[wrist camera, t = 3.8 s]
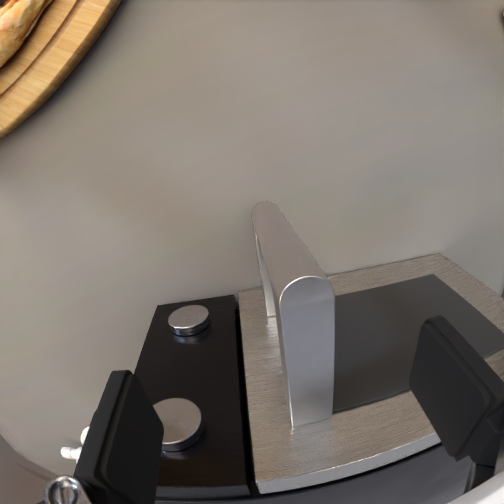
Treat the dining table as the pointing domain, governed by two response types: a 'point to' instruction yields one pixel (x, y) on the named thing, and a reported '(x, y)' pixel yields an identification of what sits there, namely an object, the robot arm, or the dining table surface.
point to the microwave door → (345, 356)
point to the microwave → (238, 427)
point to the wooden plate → (43, 50)
